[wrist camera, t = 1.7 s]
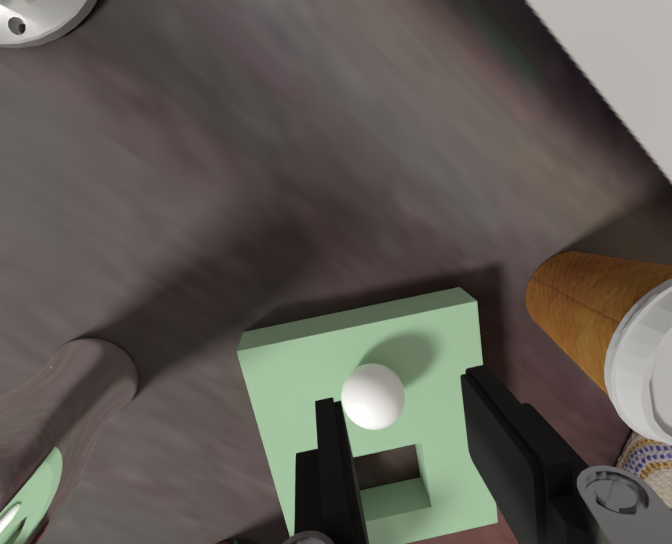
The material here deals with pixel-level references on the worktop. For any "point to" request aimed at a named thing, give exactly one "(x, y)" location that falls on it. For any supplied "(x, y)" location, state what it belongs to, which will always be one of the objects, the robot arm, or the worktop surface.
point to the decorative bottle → (649, 464)
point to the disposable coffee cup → (613, 330)
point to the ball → (373, 396)
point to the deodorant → (235, 542)
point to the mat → (410, 428)
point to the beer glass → (57, 433)
